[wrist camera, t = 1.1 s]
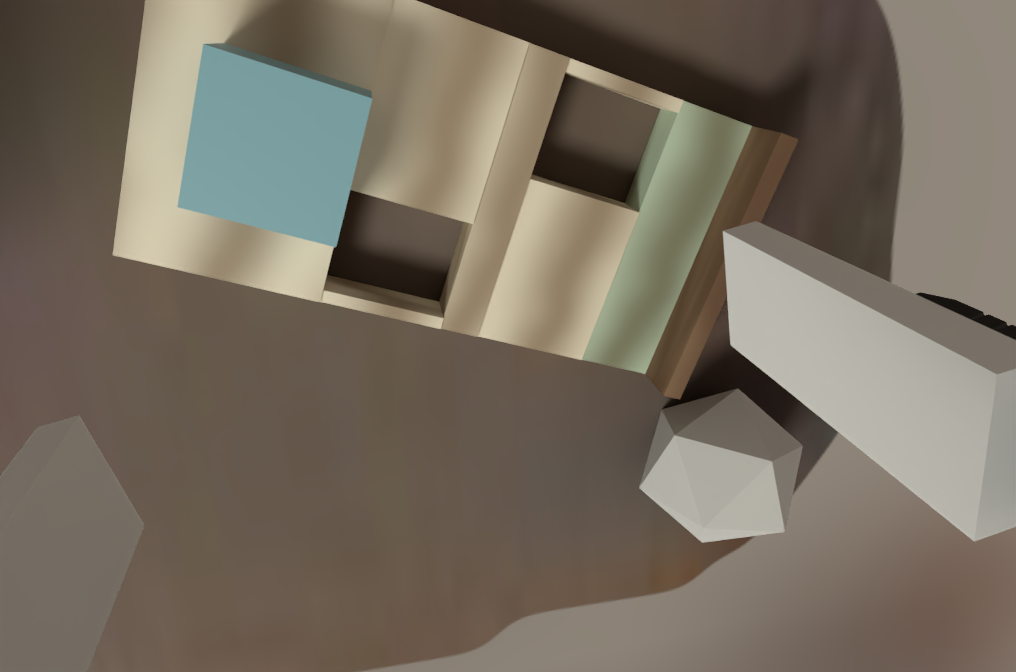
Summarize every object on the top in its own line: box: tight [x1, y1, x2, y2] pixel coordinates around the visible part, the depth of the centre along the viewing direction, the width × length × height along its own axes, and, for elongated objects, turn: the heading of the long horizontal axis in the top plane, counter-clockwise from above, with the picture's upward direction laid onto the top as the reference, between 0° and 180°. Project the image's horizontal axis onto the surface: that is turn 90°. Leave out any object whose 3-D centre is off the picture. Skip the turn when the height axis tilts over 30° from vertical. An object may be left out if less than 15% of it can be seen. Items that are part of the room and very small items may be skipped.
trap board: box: [113, 0, 799, 399], centre depth 32 cm, size 28×14×5 cm, turn 72°
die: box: [639, 388, 803, 543], centre depth 40 cm, size 8×9×10 cm
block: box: [177, 43, 373, 247], centre depth 27 cm, size 6×6×4 cm
